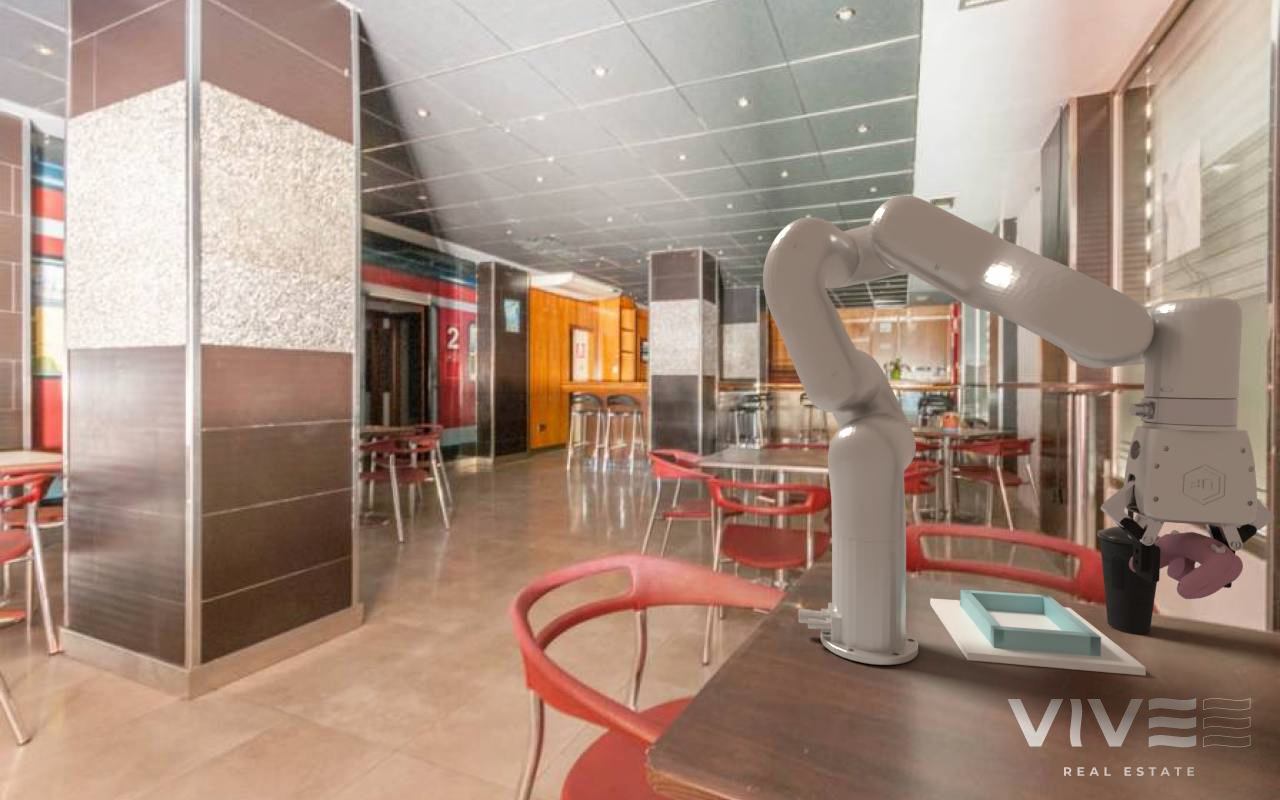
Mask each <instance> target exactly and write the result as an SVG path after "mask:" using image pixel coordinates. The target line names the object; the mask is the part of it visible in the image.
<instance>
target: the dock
mask: <svg viewBox="0 0 1280 800" xmlns="http://www.w3.org/2000/svg"><path fill="white" fill-rule="evenodd" d="M930 606H931V607H932V609H933V611H934V612H935V614H936V615H937V617H938V618H939V620H940V621H941V623H942V624H943V626H944V627H945V629H946V630H947V633H949V635H950V637H951V638H952V639H953V640H954V642H955V643H956V645H957V646H958V649H959V650H960V651H961V653H962V654H963V655H964V656H963V657H965V658H966V660H967V661H973V662H984V663H985V662H986V663H995V664H997V663H998V664H1007V665H1008V664H1009V665H1018V666H1019V665H1020V666H1032V667H1040V668H1041V667H1043V668H1054V669H1065V670H1078V671H1085V672H1086V671H1088V672H1098V673H1099V672H1101V673H1110V674H1124V675H1134V676H1135V675H1136V676H1145V677H1146V676H1147V674H1146V671H1147V668H1146V666H1145V665H1143V664H1142V663H1140V662H1139V661H1138V660H1137V659H1135V658H1134V657H1133V656H1132V655H1130V654H1129V653H1128V652H1126V651H1125V650H1124V649H1123V648H1122V647H1120V646H1119V645H1118V644H1116V643H1115V642H1114V641H1112V640H1111V639H1110V638H1109V637H1107V636H1106V635H1105V634H1104V633H1103V632H1101V631H1100V630H1099V629H1097V628H1096V627H1095V626H1094V625H1092V624H1091V623H1090V622H1089V621H1087V620H1086V619H1084V618H1083V617H1082V616H1081V615H1079V614H1078V612H1076V611H1074V610H1073V609H1072V608H1071V607H1066V606H1065V607H1064V606H1063V605H1061V604H1060V603H1059V602H1058V601H1057V600H1055V599H1054V598H1053V597H1051V596H1050V595H1049V594H1036V593H1035V594H1034V593H1019V592H1017V593H1015V592H1003V591H1001V592H1000V591H987V590H986V591H985V590H972V589H971V590H970V589H960V590H959V600H958V599H943V598H932V597H931V598H930Z"/></svg>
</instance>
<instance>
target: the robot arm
mask: <svg viewBox="0 0 1280 800" xmlns="http://www.w3.org/2000/svg"><path fill="white" fill-rule="evenodd" d="M769 247H770V248H769V249H768V252H767V255H766V257H765V261H764V265H763V272H762V287H763V291H764V297H765V301H766V304H767V306H768V309H769V312H770V314H771V316H772V317H771V318H772V319H773V321H774V323H775V325H776V328H777V330H778V332H779V335H780V337H781V339H782V341H783V344H784V346H785V349H786V351H787V354H788V356H789V358H790V360H791V363H792V365H793V368H794V369H795V371H796V374H797V376H798V378H799V381H800V383H801V386H802V387H803V391H804V393H805V394H806V397H807V398H808V400H809V402H810V403H811V404H812V406H813V407H816V408H817V409H818V410H821V412H826V413H830V414H831V413H832V415H833V417H834V419H835V421H836V423H837V426H838V429H837V431H835V433H834V435H833V436H832V438H831V440H830V442H829V447H828V453H827V468H828V469H827V470H828V479H829V488H830V496H831V497H830V499H831V500H830V501H831V548H832V549H831V558H832V559H831V566H832V567H831V574H832V575H831V602H828V604H827V605H828V607H827V608H821V609H820V610H812V609H808V608H806V609H805V608H798V623H799V624H807V629H811V630H820V641H821V644H822V645H823V646H824V648H826V649H828V650H829V651H830V652H832V653H833V654H835V655H837V656H839V657H841V658H844V659H847V660H850V661H853V662H859V663H863V664H868V665H878V666H891V665H893V666H894V665H899V664H905V663H908V662H910V661H912V660H914V659H915V658H916V657H917V655H918V654H919V644H918V641H917V639H916V638H915V637H914V636H913V635H911V633H909V632H907V629H906V628H907V627H906V622H907V621H906V620H907V619H906V615H907V614H906V612H907V611H906V608H907V605H906V604H907V603H906V602H907V601H906V600H907V599H906V598H907V591H906V590H907V587H906V585H907V578H906V577H907V535H906V533H907V532H906V531H907V528H906V527H907V525H906V524H907V517H906V512H907V511H906V496H905V495H906V494H905V471H906V469H908V467H909V466H910V465H911V463H912V462H913V459H914V456H915V454H916V449H917V448H916V446H917V445H916V438H915V434H914V432H913V430H912V427H911V424H910V423H909V420H908V419H907V417H906V415H905V413H904V411H903V409H902V406H901V405H900V402H899V400H898V398H897V396H896V394H895V392H894V390H893V389H892V386H891V384H890V382H889V380H888V378H887V375H886V374H885V371H884V370H883V368H882V367H881V365H880V364H879V362H877V360H876V359H875V358H874V357H873V356H872V355H870V354H869V353H867V352H866V351H864V350H861V349H858V348H856V345H855V344H854V342H853V341H852V338H851V336H850V335H849V333H848V331H847V329H846V328H845V326H844V324H843V321H842V317H841V316H840V313H839V311H838V310H837V308H836V306H835V305H834V303H833V301H832V299H831V297H830V295H829V294H828V290H827V289H838V288H839V289H841V288H845V287H850V286H855V285H859V284H860V285H861V284H864V283H868V282H873V281H877V280H883V279H888V278H893V277H895V276H899V275H900V276H901V275H903V274H907V273H908V274H911V275H913V276H915V277H916V278H918V279H920V280H922V281H923V282H925V283H927V284H928V285H930V286H933V287H934V288H936V289H937V290H940V291H941V292H943V293H945V294H947V295H948V296H950V297H952V298H954V299H955V300H957V301H958V302H961V303H962V304H965V305H967V306H969V307H971V308H973V309H975V310H979V311H984V312H987V313H991V314H994V315H997V316H999V317H1001V318H1003V319H1004V320H1007V321H1010V322H1012V323H1014V324H1016V325H1017V326H1019V327H1022V328H1023V329H1026V330H1027V331H1030V332H1031V333H1032V334H1034V335H1036V336H1038V337H1040V338H1042V339H1044V340H1045V341H1047V342H1049V343H1051V344H1052V345H1055V346H1056V347H1058V348H1060V349H1062V350H1063V352H1064V353H1065V355H1066V356H1067V357H1068V358H1069V359H1071V360H1072V361H1073V362H1075V363H1076V364H1077V365H1081V366H1082V367H1086V368H1091V369H1109V368H1117V367H1124V366H1135V365H1136V366H1138V365H1144V372H1143V373H1144V376H1143V377H1144V378H1143V379H1144V381H1143V397H1141V402H1138V403H1132V404H1130V406H1129V413H1130V415H1131V416H1133V417H1139V418H1140V421H1141V422H1142V425H1136V426H1135V429H1134V431H1133V435H1132V438H1131V442H1130V445H1129V449H1128V454H1127V459H1126V465H1125V471H1124V480H1123V481H1124V482H1123V486H1122V487H1120V489H1118V491H1116V492H1115V493H1114V494H1113V495H1112V496H1110V497H1109V498H1108V499H1106V501H1104V502H1103V503H1102V504H1101V505H1100V511H1102V512H1103V513H1104V514H1105V515H1106V516H1107V517H1109V518H1110V520H1112V521H1113V522H1115V524H1116V525H1117V526H1119V527H1120V528H1121V529H1123V530H1124V531H1125V532H1126V533H1127V534H1128V536H1129V537H1130V538H1131V539H1133V562H1132V564H1133V568H1134V570H1135V572H1136V574H1137V575H1138V576H1140V577H1142V578H1143V579H1145V580H1147V581H1149V582H1152V583H1158V582H1159V581H1160V575H1161V574H1160V570H1161V569H1160V551H1161V550H1160V548H1159V547H1158V546H1156V545H1155V540H1156V538H1157V536H1159V534H1160V532H1161V530H1162V528H1163V526H1164V523H1173V524H1191V525H1192V524H1194V525H1205V527H1206V530H1207V532H1208V534H1209V537H1211V538H1213V539H1215V540H1218V541H1219V542H1221V543H1223V544H1225V545H1226V546H1227V547H1228V548H1229V549H1230V550H1231V551H1232V552H1233V553H1234V554H1235V555H1236V552H1237V551H1240V550H1242V549H1243V547H1244V543H1245V542H1247V541H1248V540H1250V539H1251V538H1253V536H1254V537H1255V536H1256V534H1257V532H1258V530H1259V531H1260V530H1262V529H1263V528H1264V527H1266V526H1268V525H1269V524H1270V523H1271V522H1273V521H1274V519H1275V515H1274V514H1273V513H1272V512H1271V511H1270V510H1269V509H1268V508H1267V507H1266V506H1265V505H1264V504H1263V503H1262V502H1260V500H1259V499H1258V491H1257V490H1258V489H1257V488H1258V486H1257V473H1256V464H1255V457H1254V452H1253V447H1252V444H1251V440H1250V436H1249V433H1248V430H1247V429H1238V417H1239V416H1238V415H1239V414H1238V413H1239V391H1240V390H1239V389H1240V366H1241V363H1240V362H1241V344H1242V343H1241V342H1242V327H1243V326H1242V325H1243V324H1242V321H1243V313H1242V312H1243V311H1242V307H1241V306H1240V304H1239V303H1238V302H1237V301H1235V300H1234V299H1231V298H1225V297H1190V298H1179V299H1171V300H1163V301H1161V302H1159V303H1155V304H1154V305H1153V306H1152V305H1150V306H1148V305H1147V306H1143V305H1142V304H1141V303H1140V302H1138V301H1137V300H1136V299H1134V298H1132V297H1130V296H1128V295H1127V294H1125V293H1123V292H1121V291H1118V290H1117V289H1115V288H1112V287H1111V286H1109V285H1107V284H1105V283H1104V282H1100V281H1099V280H1097V279H1095V278H1092V277H1090V276H1088V275H1087V274H1085V273H1083V272H1080V271H1079V270H1076V269H1074V268H1071V267H1069V266H1067V265H1065V264H1062V263H1061V262H1059V261H1056V260H1053V259H1051V258H1049V257H1046V256H1043V255H1041V254H1039V253H1036V252H1033V251H1031V250H1030V249H1028V248H1026V247H1023V246H1021V245H1018V244H1015V243H1013V242H1010V241H1008V240H1006V239H1004V238H1002V237H999V236H997V235H995V234H994V233H992V232H989V231H988V230H986V229H983V228H981V227H979V226H977V225H976V224H974V223H971V222H969V221H967V220H965V219H963V218H961V217H960V216H957V215H955V214H953V213H951V212H949V211H948V210H945V209H944V208H941V207H939V206H938V205H935V204H933V203H931V202H929V201H927V200H924V199H921V198H920V197H917V196H911V195H897V196H895V197H892V198H889V199H888V200H886V201H884V202H883V203H882V204H880V206H879V207H878V208H877V209H876V210H875V212H874V214H873V215H872V216H871V219H870V221H869V224H867V225H863V226H860V227H859V226H858V227H855V228H851V229H848V230H841V229H840V227H838V226H837V225H835V224H833V223H832V222H830V221H828V220H826V219H823V218H819V217H814V216H812V217H811V216H810V217H808V216H807V217H801V218H799V219H796V220H794V221H792V222H790V223H788V224H787V225H786V226H785V227H783V229H781V231H780V232H778V234H777V236H776V237H775V239H774V240H773V242H772V243H771V245H770V246H769ZM1125 509H1126V510H1127V511H1128V510H1130V511H1132V512H1134V513H1136V515H1135V517H1134V520H1133V519H1131V518H1130V517H1129V516H1128V513H1126V512H1125ZM1232 583H1233V582H1231V583H1228V584H1226V585H1225V586H1224V587H1223V588H1225V589H1226V588H1227V589H1231V588H1232V586H1233V584H1232Z"/></svg>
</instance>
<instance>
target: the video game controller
mask: <svg viewBox="0 0 1280 800" xmlns="http://www.w3.org/2000/svg"><path fill="white" fill-rule="evenodd" d="M1155 545H1156V546H1158V547H1159V548H1160V550H1161V551H1160V570H1161V569H1163V568H1165V567H1167V569H1166V574H1167V577H1169V578H1171V579H1173V580H1175V581H1177V582H1178V583H1177V585H1176V592H1177V594H1178V595H1179V596H1180V597H1181V598H1183V599H1185V600H1195V599H1204V598H1206V597H1209V596H1211V595H1213V594H1215V593H1217V592H1218V591H1220V590H1222V589H1223V588H1224V586H1225V585H1226V584H1228V583H1231V582H1232V583H1233V582H1235V581H1236V580H1237V579H1238V578H1239V576H1240V575H1241V574H1242V571H1243V570H1244V568H1243V567H1244V564H1243V560H1242V559H1241V558H1240V556H1238V555H1236V553H1235V554H1234V553H1233V552H1232V551H1231V550H1230V549H1229V548H1228V547H1227V546H1226V545H1225V544H1223V543H1221V542H1219V541H1218V540H1215V539H1213V538H1211V537H1210V536H1207V535H1204V534H1201V533H1199V532H1194V531H1189V532H1180V531H1178V530H1177V529H1172V531H1170V532H1169V533H1165V534H1163V535H1162V536H1160V538H1159V539H1158V540H1157V541H1155ZM1132 562H1133V556H1132V558H1131V559H1130V561H1129V567H1130V569H1131V570H1132V571H1133V572H1135V570H1134V568H1133V564H1132ZM1196 563H1198V564H1200V565H1198V566H1197V567H1195V565H1196ZM1135 573H1136V572H1135Z"/></svg>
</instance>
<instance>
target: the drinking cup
mask: <svg viewBox="0 0 1280 800" xmlns="http://www.w3.org/2000/svg"><path fill="white" fill-rule="evenodd" d="M1134 513H1135V512H1132V511H1130V510H1128V509H1127V515H1128V516H1129V517H1130V518H1131V519H1133V520H1134V519H1135V517H1134V515H1135V514H1134ZM1096 532H1097V537H1099V543H1100V556H1101V565H1102V574H1103V575H1102V577H1103V578H1102V579H1103V586H1104V597H1105V609H1106V620H1107V621H1106V622H1107V625H1108V624H1109V625H1110V626H1112V627H1113V629H1114V628H1115V629H1114V630H1116V629H1118V630H1117V631H1119V630H1121V631H1120V632H1123V631H1124V633H1127V632H1128V634H1132V633H1133V634H1134V635H1147V634H1150V632H1151V627H1152V626H1151V625H1152V620H1153V619H1152V618H1153V613H1154V605H1155V599H1156V593H1157V592H1156V591H1157V585H1158V584H1157V583H1158V582H1157V583H1152V582H1149V581H1147V580H1145V579H1143V578H1142V577H1140V576H1138V575H1137V574H1136V573H1135V572H1133V571H1132V570H1131V569H1130V567H1129V561H1130V559H1131V558H1132V556H1133V539H1131V538H1130V537H1129V536H1128V534H1127V533H1126V532H1125V531H1124V530H1123V529H1121V528H1120V527H1119V526H1118V525H1117V526H1111V527H1107V528H1104V529H1099V530H1097V531H1096ZM1160 537H1161V536H1160V535H1158V536H1157V538H1156V540H1155V541H1157V540H1158V539H1159V538H1160ZM1109 625H1108V626H1109ZM1110 626H1109V627H1110ZM1112 627H1111V628H1112ZM1133 634H1132V635H1133Z"/></svg>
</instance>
